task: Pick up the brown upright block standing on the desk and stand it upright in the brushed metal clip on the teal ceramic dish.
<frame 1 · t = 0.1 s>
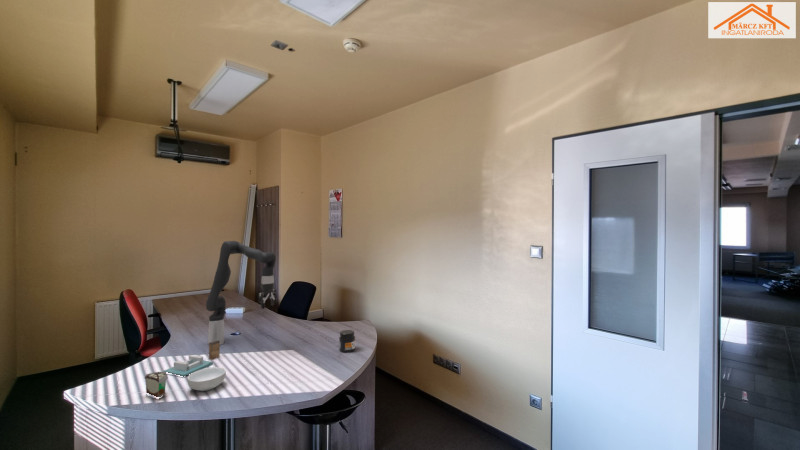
hand: (267, 307, 213), 29 cm above the table, tool pointing down, fingers open, 8 cm apart
cereal bowl: (207, 387, 164), on the table
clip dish: (188, 368, 186), on the table
supplement container: (347, 350, 213), on the table
food container: (159, 395, 157), on the table
brown upright block: (214, 357, 202), on the table
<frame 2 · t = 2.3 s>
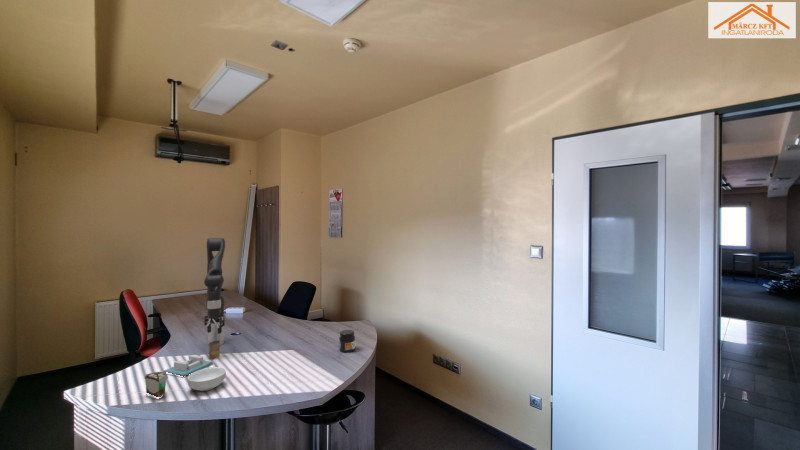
hand: (214, 332, 203), 16 cm above the table, tool pointing down, fingers open, 8 cm apart
nothing on the table moved.
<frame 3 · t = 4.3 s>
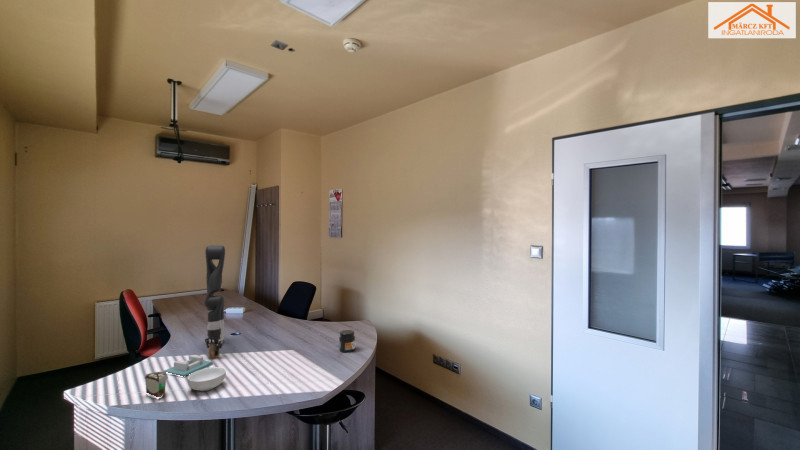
hand: (214, 355, 202), 2 cm above the table, tool pointing down, fingers closed on brown upright block, 3 cm apart
brown upright block: (214, 357, 202), on the table, touching gripper
everything else where it was.
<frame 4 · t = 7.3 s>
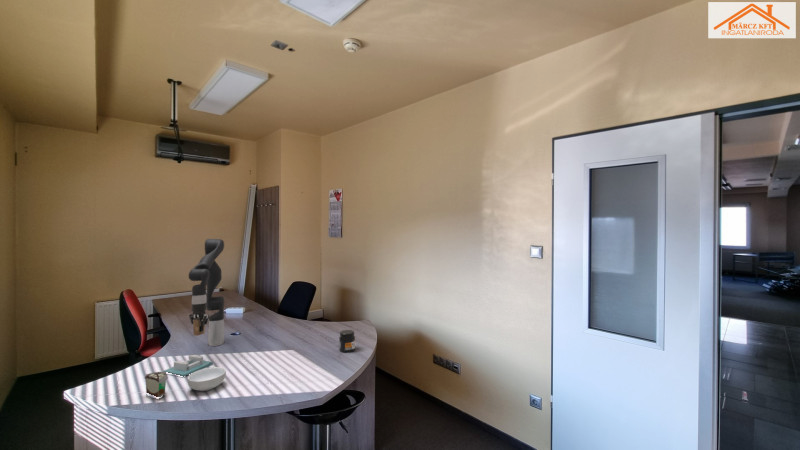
hand: (199, 331, 192), 20 cm above the table, tool pointing down, fingers closed on brown upright block, 3 cm apart
brown upright block: (199, 334, 192), point 18 cm above the table, touching gripper
everything else where it was.
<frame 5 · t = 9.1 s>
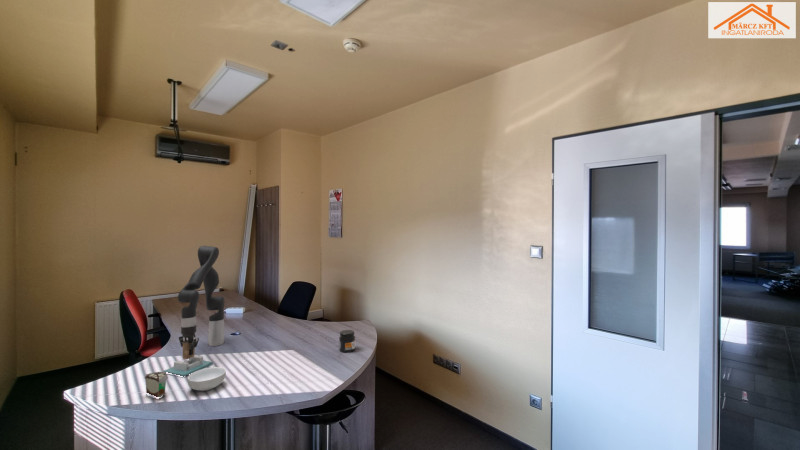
hand: (188, 354, 186), 8 cm above the table, tool pointing down, fingers closed on brown upright block, 3 cm apart
brown upright block: (188, 357, 186), point 7 cm above the table, touching gripper
everything else where it was.
when the fingers open (4 cm above the table, at t = 10.2 s): brown upright block drops 1 cm, resting on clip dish.
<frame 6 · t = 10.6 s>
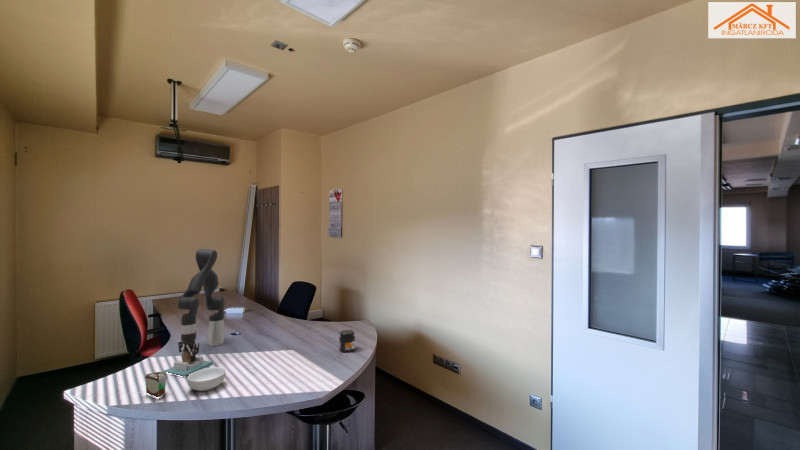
hand: (188, 360, 186), 5 cm above the table, tool pointing down, fingers open, 6 cm apart
brown upright block: (188, 366, 186), point 1 cm above the table, touching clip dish
everything else where it was.
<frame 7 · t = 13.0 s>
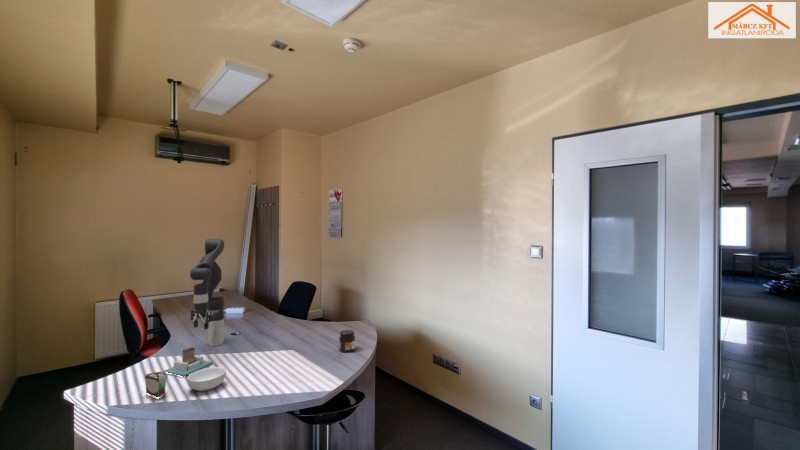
hand: (201, 328, 193), 22 cm above the table, tool pointing down, fingers open, 8 cm apart
nothing on the table moved.
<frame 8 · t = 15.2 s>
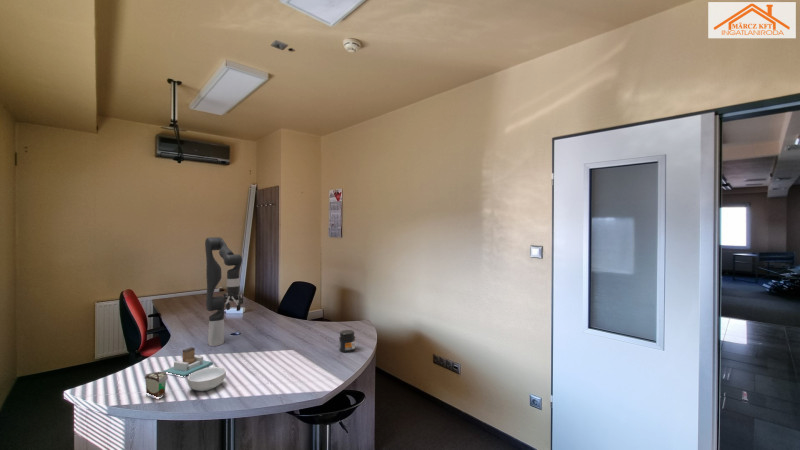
hand: (233, 310, 209), 28 cm above the table, tool pointing down, fingers open, 8 cm apart
nothing on the table moved.
at the end: brown upright block 0.1 cm off-centre on the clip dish, point 1.5 cm above the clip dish's base; brown upright block tilted 0°; the gripper is holding nothing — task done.
